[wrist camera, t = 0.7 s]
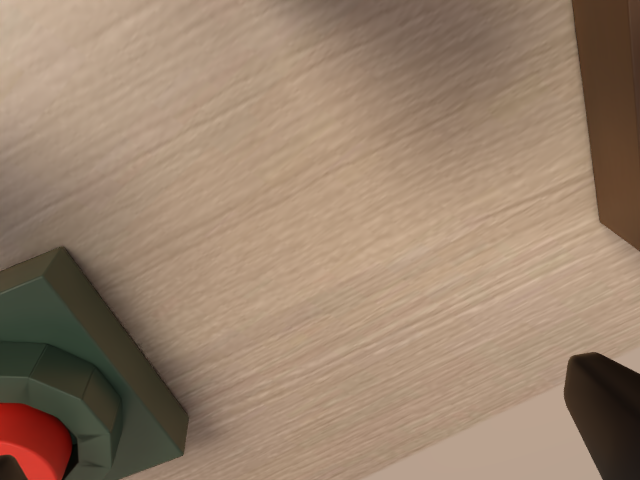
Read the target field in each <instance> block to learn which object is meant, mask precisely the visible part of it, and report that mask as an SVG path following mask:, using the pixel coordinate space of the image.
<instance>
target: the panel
mask: <svg viewBox="0 0 640 480" xmlns="http://www.w3.org/2000/svg"><path fill="white" fill-rule="evenodd" d="M572 3H573V11H574V19H575V27H576V35H577V43H578V51H579V59H580V66H581V74H582V82H583V90H584V98H585V106H586V114H587V122H588V130H589V138H590V146H591V154H592V162H593V170H594V178H595V186H596V194H597V202H598V210H599V218H600V222H601V223H602V224H603V225H605V226H606V227H607V228H609V229H610V230H611V231H613V232H614V233H615V234H617V235H618V236H620V237H621V238H622V239H624V240H625V241H626V242H628V243H629V244H631V245H632V246H633V247H635V248H636V249H637V250H639V251H640V0H572Z"/></svg>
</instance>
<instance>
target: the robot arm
mask: <svg viewBox="0 0 640 480" xmlns="http://www.w3.org/2000/svg"><path fill="white" fill-rule="evenodd" d="M564 399H565V402H566V406H567V408H568V410H569V412H570V414H571V416H572V418H573V420H574V422H575V424H576V426H577V428H578V430H579V432H580V434H581V436H582V438H583V441H584V442H585V445H586V447H587V448H588V450H589V453H590V455H591V457H592V459H593V461H594V463H595V465H596V467H597V468H598V471H599V473H600V475H601V477H602V479H603V480H640V374H639V373H637V372H635V371H633V370H631V369H629V368H627V367H625V366H623V365H621V364H619V363H617V362H615V361H613V360H611V359H609V358H607V357H605V356H604V355H602V354H599V353H596V352H590V353H584V354H579V355H574V356H572V357H571V358H570V359H569V361H568V366H567V373H566V380H565V387H564ZM0 480H28V479H27V477H26V475H25V473H24V472H23V470H22V468H21V467H20V465H19V463H18V461H17V460H16V458H15V457H13V456H12V455H7V454H6V455H0Z"/></svg>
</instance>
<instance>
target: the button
mask: <svg viewBox="0 0 640 480" xmlns="http://www.w3.org/2000/svg"><path fill="white" fill-rule="evenodd" d="M71 453H72V439H71V436H70V433H69V431H68V430H67V428H66V427H65V426H64V424H63V423H62V422H61V421H60V420H59V419H57V418H56V417H55V416H53V415H50V414H48V413H45V412H43V411H41V410H38V409H36V408H33V407H31V406H28V405H26V404H23V403H0V455H6V454H7V455H12V456H13V457H15V458H16V460H17V461H18V463H19V465H20V467H21V468H22V470H23V472H24V473H25V475H26V477H27V479H28V480H62V478H63V475H64V472H65V470H66V467H67V464H68V461H69V459H70V456H71Z"/></svg>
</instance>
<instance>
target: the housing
mask: <svg viewBox="0 0 640 480" xmlns="http://www.w3.org/2000/svg"><path fill="white" fill-rule="evenodd" d="M0 403H23V404H26V405H28V406H31V407H33V408H36V409H38V410H41V411H43V412H45V413H48V414H50V415H53V416H55V417H56V418H57V419H59V420H60V421H61V422H62V423H63V424H64V426H65V427H66V428H67V430H68V431H69V433H70V436H71V439H72V453H71V456H70V459H69V461H68V464H67V467H66V470H65V472H64V475H63V478H62V480H119V479H122V478H124V477H127V476H130V475H132V474H135V473H138V472H140V471H143V470H146V469H148V468H151V467H154V466H157V465H159V464H162V463H165V462H167V461H170V460H173V459H175V458H178V457H181V456H183V455H184V449H185V442H186V435H187V428H188V420H189V417H188V415H187V414H186V413H185V411H184V410H183V409H182V407H181V406H180V404H179V403H178V402H177V400H176V399H175V398H174V396H173V395H172V394H171V392H170V391H169V390H168V388H167V387H166V385H165V384H164V383H163V381H162V380H161V379H160V377H159V376H158V375H157V373H156V372H155V371H154V369H153V368H152V366H151V365H150V364H149V362H148V361H147V360H146V358H145V357H144V356H143V354H142V353H141V351H140V350H139V349H138V347H137V346H136V345H135V343H134V342H133V341H132V339H131V338H130V337H129V335H128V334H127V332H126V331H125V330H124V328H123V327H122V326H121V324H120V323H119V322H118V320H117V319H116V318H115V316H114V315H113V313H112V312H111V311H110V309H109V308H108V307H107V305H106V304H105V303H104V301H103V300H102V299H101V297H100V296H99V294H98V293H97V292H96V290H95V289H94V288H93V286H92V285H91V284H90V282H89V281H88V280H87V278H86V277H85V275H84V274H83V273H82V271H81V270H80V269H79V267H78V266H77V265H76V263H75V262H74V260H73V259H72V258H71V256H70V255H69V254H68V252H67V251H66V250H65V248H64V247H59V248H56V249H54V250H52V251H49V252H47V253H44V254H42V255H40V256H37V257H35V258H32V259H30V260H27V261H25V262H23V263H20V264H18V265H15V266H13V267H10V268H8V269H6V270H3V271H1V272H0Z"/></svg>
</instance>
